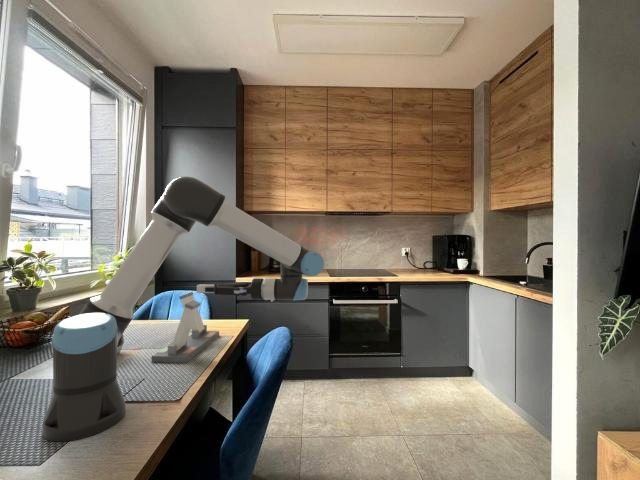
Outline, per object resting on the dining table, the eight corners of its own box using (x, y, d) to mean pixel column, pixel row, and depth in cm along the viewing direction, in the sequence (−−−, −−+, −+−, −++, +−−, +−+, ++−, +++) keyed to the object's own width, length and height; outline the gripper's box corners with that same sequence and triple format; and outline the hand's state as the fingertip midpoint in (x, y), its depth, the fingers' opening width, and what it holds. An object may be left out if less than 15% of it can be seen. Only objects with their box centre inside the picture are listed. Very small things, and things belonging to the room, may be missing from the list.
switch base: (219, 335, 137) (219, 324, 137) (186, 362, 107) (186, 347, 107) (191, 335, 137) (191, 323, 137) (151, 362, 107) (151, 347, 107)
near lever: (184, 347, 116) (200, 302, 116) (176, 353, 110) (193, 306, 109) (177, 344, 116) (193, 300, 116) (168, 350, 110) (185, 303, 110)
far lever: (206, 330, 134) (192, 291, 134) (200, 335, 128) (185, 294, 128) (200, 333, 134) (186, 294, 134) (193, 337, 128) (179, 296, 128)
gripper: (259, 303, 104) (189, 303, 106) (267, 296, 118) (205, 295, 119) (259, 281, 104) (189, 280, 106) (267, 276, 118) (205, 275, 119)
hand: (198, 288), depth 112 cm, fingers closed
